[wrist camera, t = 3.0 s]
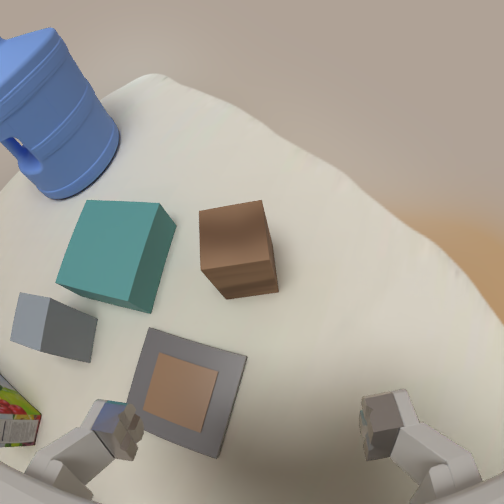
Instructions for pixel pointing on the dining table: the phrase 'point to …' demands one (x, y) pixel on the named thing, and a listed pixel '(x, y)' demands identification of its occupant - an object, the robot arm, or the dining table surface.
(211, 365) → the card
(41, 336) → the slate grey block
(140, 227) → the teal base block
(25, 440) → the snack box
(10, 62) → the water jug
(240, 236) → the walnut block
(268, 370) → the dining table surface
